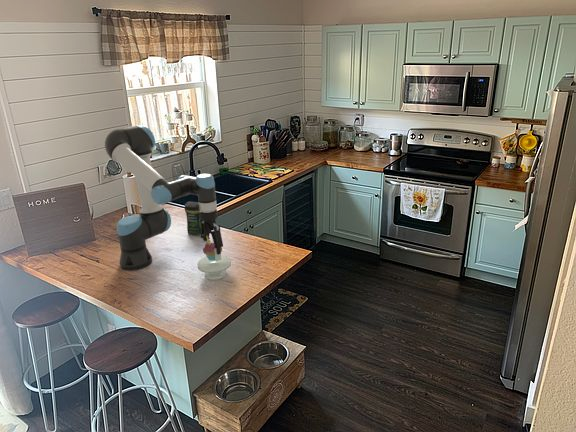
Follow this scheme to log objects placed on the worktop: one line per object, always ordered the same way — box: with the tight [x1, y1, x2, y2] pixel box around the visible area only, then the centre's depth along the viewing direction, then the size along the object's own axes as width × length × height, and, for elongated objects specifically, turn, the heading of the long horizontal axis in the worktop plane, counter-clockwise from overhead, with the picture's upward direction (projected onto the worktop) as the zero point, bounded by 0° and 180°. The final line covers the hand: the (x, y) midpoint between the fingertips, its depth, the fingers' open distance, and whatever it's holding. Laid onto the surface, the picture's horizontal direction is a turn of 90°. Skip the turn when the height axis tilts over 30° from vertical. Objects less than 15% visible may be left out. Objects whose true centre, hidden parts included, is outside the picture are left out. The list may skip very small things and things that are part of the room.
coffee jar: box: [184, 201, 201, 236], centre depth 244 cm, size 10×8×19 cm
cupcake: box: [202, 235, 223, 261], centre depth 196 cm, size 9×8×12 cm
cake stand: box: [197, 254, 232, 281], centre depth 200 cm, size 15×15×6 cm
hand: (213, 256), depth 198 cm, fingers closed on cupcake, 8 cm apart
